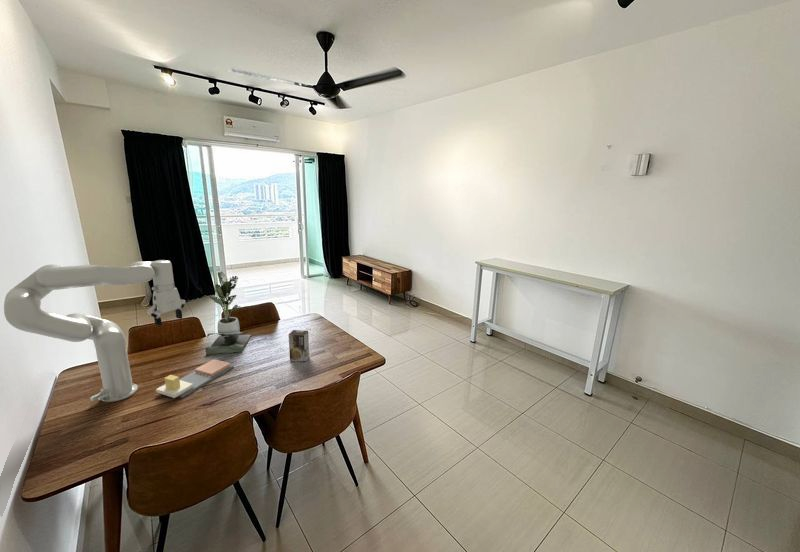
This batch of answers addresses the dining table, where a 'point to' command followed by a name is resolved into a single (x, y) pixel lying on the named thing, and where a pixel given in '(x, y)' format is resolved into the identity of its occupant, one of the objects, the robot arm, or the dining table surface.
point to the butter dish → (174, 386)
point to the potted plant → (227, 322)
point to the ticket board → (199, 380)
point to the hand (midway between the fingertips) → (169, 321)
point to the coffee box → (299, 345)
